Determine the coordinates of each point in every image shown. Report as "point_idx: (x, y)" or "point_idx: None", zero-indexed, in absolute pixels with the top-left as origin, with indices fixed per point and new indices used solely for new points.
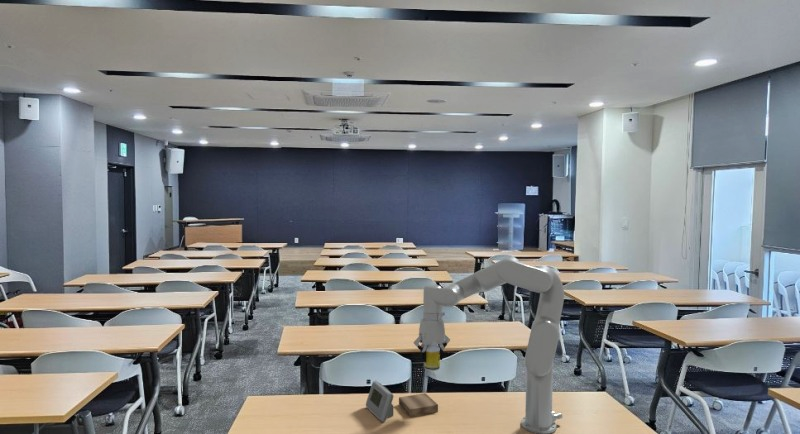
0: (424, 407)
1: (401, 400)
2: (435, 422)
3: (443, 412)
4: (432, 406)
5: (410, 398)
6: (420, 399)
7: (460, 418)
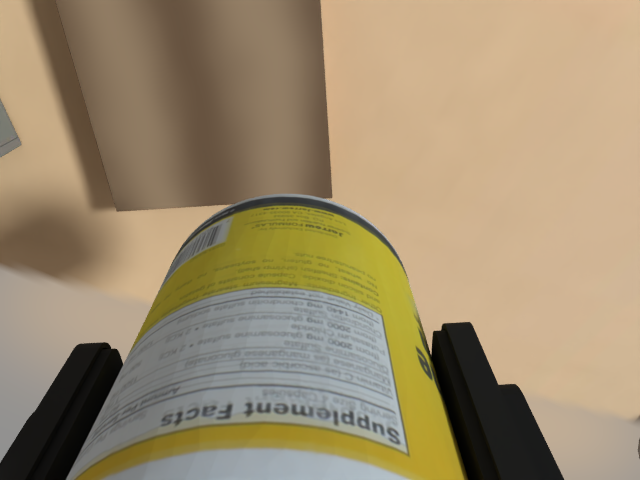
0: (225, 202)
1: (66, 33)
2: None
3: (364, 190)
4: None
5: (149, 24)
6: (231, 71)
7: (423, 282)
